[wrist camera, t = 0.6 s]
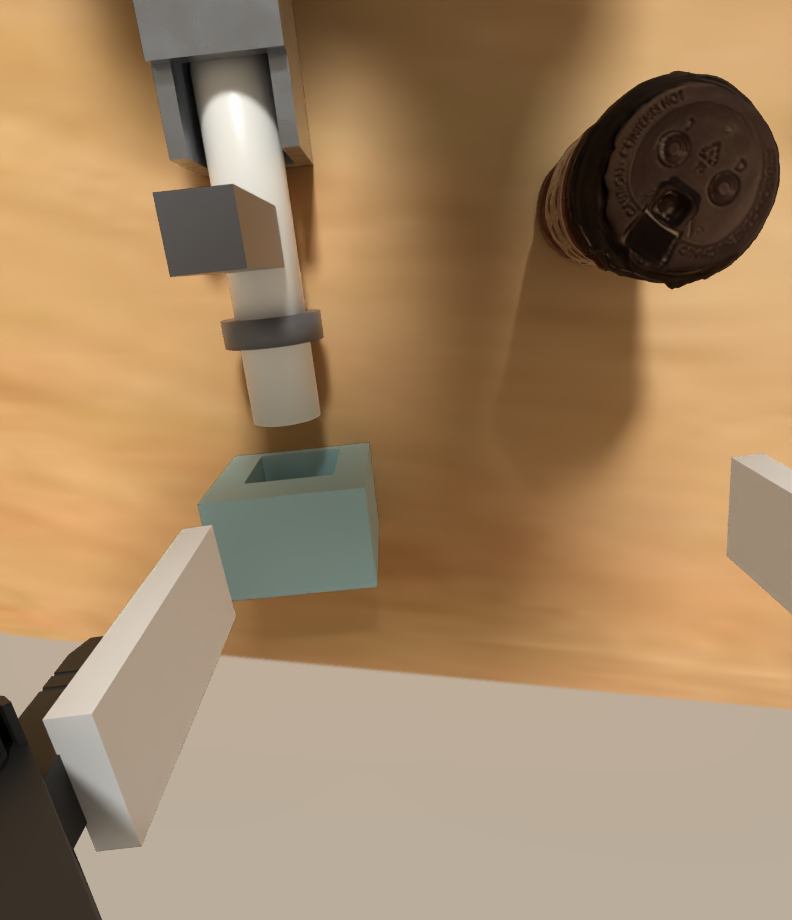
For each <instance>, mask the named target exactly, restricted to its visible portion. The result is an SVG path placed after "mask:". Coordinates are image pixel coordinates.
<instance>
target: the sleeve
mask: <svg viewBox="0 0 792 920" xmlns="http://www.w3.org/2000/svg"><path fill="white" fill-rule="evenodd" d="M133 3H134V8H135V14H136V19H137V24H138V29H139V34H140V39H141V44H142V49H143V54H144V59H145V62H147V63H148V64H149V65H150V66H151V67H152V72H153V77H154V82H155V87H156V92H157V97H158V102H159V107H160V112H161V117H162V123H163V128H164V133H165V138H166V143H167V148H168V153H169V158H170V161H172V162H175V163H177V164H179V165H181V166H183V167H185V168H187V169H189V170H191V171H193V172H195V173H197V174H200V175H202V176H204V177H205V176H209V172H208V167H207V161H206V156H205V150H204V144H203V139H202V133H201V128H200V122H199V117H198V111H197V106H196V100H195V94H194V89H193V83H192V78H191V72H190V67H189V62H197V61H206V60H215V59H224V58H232V57H241V56H250V55H259V54H268V59H269V66H270V73H271V80H272V87H273V94H274V101H275V108H276V115H277V122H278V129H279V136H280V143H281V148H282V149H283V155H284V162H285V168H287V167H296V166H305V165H313V159H312V151H311V143H310V136H309V128H308V120H307V113H306V105H305V97H304V90H303V82H302V74H301V67H300V59H299V51H298V44H297V36H296V28H295V21H294V13H293V6H292V0H133Z"/></svg>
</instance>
